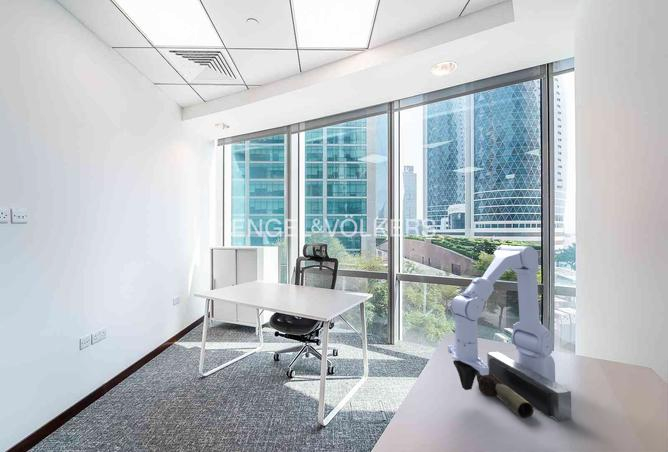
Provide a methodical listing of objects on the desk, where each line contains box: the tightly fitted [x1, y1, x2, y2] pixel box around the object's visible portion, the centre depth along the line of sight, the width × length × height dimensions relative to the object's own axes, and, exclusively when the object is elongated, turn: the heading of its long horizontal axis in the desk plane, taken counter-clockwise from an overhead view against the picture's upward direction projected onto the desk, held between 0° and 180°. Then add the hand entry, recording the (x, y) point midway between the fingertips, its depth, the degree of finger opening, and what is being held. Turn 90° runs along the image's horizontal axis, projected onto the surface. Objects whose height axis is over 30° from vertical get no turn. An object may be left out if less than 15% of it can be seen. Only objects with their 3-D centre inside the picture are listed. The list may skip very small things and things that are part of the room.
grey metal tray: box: [486, 351, 573, 422], centre depth 82 cm, size 5×24×7 cm, turn 12°
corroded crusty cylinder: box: [475, 371, 535, 419], centre depth 80 cm, size 18×7×6 cm, turn 8°
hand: (467, 388), depth 78 cm, fingers closed
